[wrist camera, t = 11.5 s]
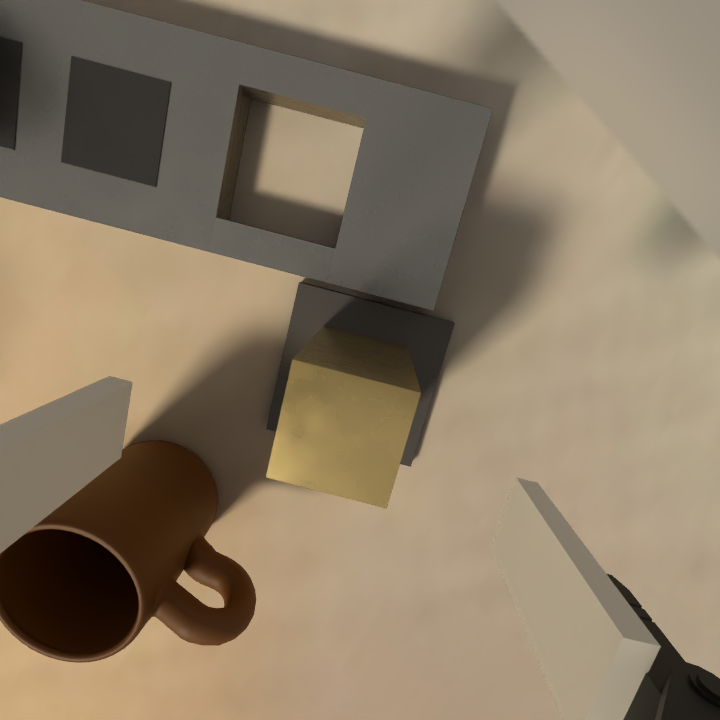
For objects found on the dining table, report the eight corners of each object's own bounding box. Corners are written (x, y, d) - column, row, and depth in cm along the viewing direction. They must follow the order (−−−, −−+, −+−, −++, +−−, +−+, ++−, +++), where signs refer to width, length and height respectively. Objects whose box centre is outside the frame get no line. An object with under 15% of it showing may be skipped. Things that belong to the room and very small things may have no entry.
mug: (302, 485, 29) (263, 590, 20) (265, 581, 30) (214, 720, 21) (122, 418, 28) (-3, 494, 19) (95, 519, 30) (-32, 634, 21)
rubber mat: (268, 425, 28) (266, 428, 27) (300, 282, 26) (299, 282, 25) (410, 462, 28) (410, 466, 27) (452, 321, 26) (454, 323, 25)
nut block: (304, 406, 27) (265, 477, 18) (323, 325, 26) (292, 359, 17) (385, 427, 27) (386, 508, 18) (408, 347, 26) (420, 392, 17)
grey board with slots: (-13, 190, 26) (-46, 185, 24) (0, -7, 24) (-36, -32, 22) (429, 307, 26) (433, 310, 24) (483, 121, 24) (493, 108, 22)
